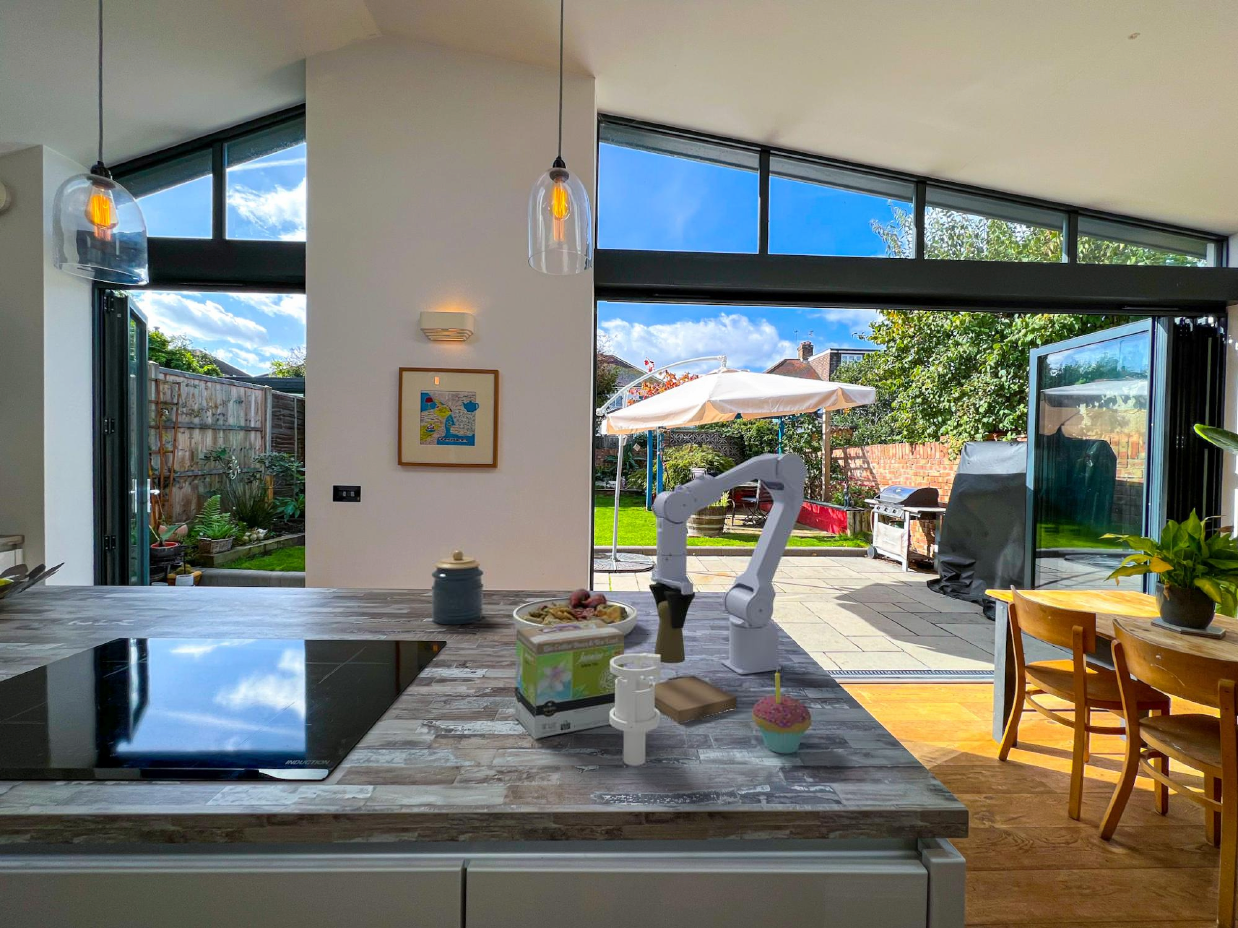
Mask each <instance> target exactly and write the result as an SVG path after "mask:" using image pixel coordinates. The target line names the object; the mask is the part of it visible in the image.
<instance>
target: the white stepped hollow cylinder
mask: <svg viewBox="0 0 1238 928" xmlns="http://www.w3.org/2000/svg"><path fill="white" fill-rule="evenodd" d="M628 663H629V664H630V663H633V664H634V668H626V667H623V668H622V667H619V666H617V665H620V664H628ZM661 663H662V662H661V655H659V654H654V653H648V652H643V653H640V654H639V653H628V654H624V655H620V656H616V657H614V658H612V659H611V660H610V672H611V673H613V674H614V675H617V676H620V677H618V678H617V679H616V680H615V707H614V708H612V709H611V710H610V717H609V722H610V724H611V725H610V726H611V727H613V728H614V729H617V730H620V731H623V762H624V764H625V765H628V766H634V767H637V766H642V765H643V764H645V762H646V732H648V731H652V730H654V729H656V728H657V727H659V726H660V724H661V712H659V711H658V710H657V709H656V708H655V684H656V683H661ZM643 664H646V665H650V666H651V667H648V668H646V667H645V668H643ZM650 682H651V684H652V687H651V688H650V689H649V685H650Z"/></svg>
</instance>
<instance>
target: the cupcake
mask: <svg viewBox="0 0 1238 928" xmlns="http://www.w3.org/2000/svg"><path fill="white" fill-rule="evenodd" d="M775 671H776V673H775V674H774V678H775V679H774V681H775V684H774V685H775V694H774V695H770V696H766V697H763V698H760V700H758V701H757V702H756V703H755V704H753V707H752V712H751V713H752V719H753V722H754V724H755V725H756V727H758V728H759V730H760V733H761V736H762V739H763V742H764V745H765V748H766V749H768V750H769V751H771V752H775V753H779V754H794V753H796V752H797V751H798V749H799V747H800V744H801V741H802V738H803V735H804V734H805V733H806V731H808V729H809V728H810V726H812V714H811V713H810V711H809V709H808V707H807V706H806V705H805V704H803V703H801V702H800V701H799V700H797V699H795V698H793V697H791V696H789V695H788V696H787V695H785V694H782V693H781V679H780V678H781V676H780V675H781V673H780V672H779V670H778V669H776V670H775Z"/></svg>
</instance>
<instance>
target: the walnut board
mask: <svg viewBox="0 0 1238 928" xmlns="http://www.w3.org/2000/svg"><path fill="white" fill-rule="evenodd" d="M652 684H653V683H651V684H649V689H650V688H651V687H652ZM654 684H655V708H656V709H657V710H658V711H659V712H660V714H662V713H663V714H662V715H664V716H665V715H666V717H667V716H668V717H667V718H669V717H670V718H671V720H672V719H673V720H674V721H673V720H672V721H673V722H675V723H676V722H677V723H676V724H678V723H679V724H682V723H681V722H683V723H686V722H685V721H687V722H689V721H688V720H691V721H693V720H692V719H695V720H698V719H697V718H699V719H701V718H700V717H703V718H705V717H704V716H707V715H711V716H713V715H712V714H715V715H717V714H716V713H719V712H723V713H725V712H724V711H726V710H730V709H735V708H737V706H738V705H737V696H735V695H733V694H732V693H729V692H727V691H726V690H725V691H724V689H721V688H720V687H717V686H716V685H713V684H711V683H710V682H707V681H705V680H703V679H701V678H699V677H697V676H696V675H690V676H685V677H681V678H680V677H679V678H675V679H672V680H671V679H670V680H666V681H660V682H655V683H654ZM735 710H736V709H735ZM719 714H720V713H719ZM707 717H708V716H707ZM670 718H669V719H670Z"/></svg>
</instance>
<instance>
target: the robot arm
mask: <svg viewBox="0 0 1238 928" xmlns="http://www.w3.org/2000/svg"><path fill="white" fill-rule="evenodd" d="M808 474H809V471H808V469H807V467H806V464H805V462H804V460H803V458H802V457H801V456H800V455H799V454H797V453H794V452H788V453H770V452H765V453H761V454H760V455H757V456H752V457H751V458H749V459H748V460H746V461H744V462H743V463H740V464H738V465H736V466H734V467H732V468H730V469H728V470H726V471H725V472H723V473H721V474H719V475H717V476H715V477H714V476H712V475H710V474H705V475H704V474H703V473H702V474H701V473H699V474H697V475H695V476H694V480H691V481H690V482H686V483H685V484H683V485H682V484H676V485H675V486H674V489H673V491H669V490H666V491H665V490H664V491H662V492H660V493H658V494H657V496H656V497H655V498H654V500H653V501H654V502H653V504H652V505H651V510H652V513H653V515H654V516H655V518H656V569H655V570H654V569H653V570H652V571H651V577H650V580H651V581H652V582H654V583H650V584H649V585H648V587H649V590H650V591H651V593H652V597H653V599H654V602H655V607H656V609H657V608H658V605H659V603H660V602H662V601H667V602H668V605H669V610H670V620H671V626H672V628H673V629H678V628H682V629H684V625H685V622H686V619H687V614H688V611H689V608H690V606H691V604H692V602H693V600H694V599H695V597H696V592H695V591H694V583H693V582H691V581H690V579H689V578H688V576H687V563H688V562H687V543H688V542H687V541H688V540H687V534H688V533H687V530H688V529H687V528H688V527H687V526H688V525H687V523H688V522H687V521H688V520H689V519H690V518H691V516H692V515H693V514H694V513H696V512H698V511H700V510H702V509H704V508H707V507H709V506H711V505H713V504H715V503H717V502H719V501H720V499H721V497H722V494H723V493H724V492H727V491H729V490H731V489H734V488H736V487H739V486H741V485H744V484H747V483H749V482H752V481H754V480H759V482H760V483H761V484H762V485H763V487H764V488H765V489H766V490H767V491H768V493H770V496H771V498H772V500H773V503H772V507H771V508H770V511H769V514H768V516H767V518H766V520H765V521H766V522H765V524H764V526H763V529H762V531H761V533H760V536H759V539H758V540H757V543H756V545H755V548H754V550H753V553H752V555H751V558H750V561H749V562H748V565H747V568H746V570H745V571H744V572H743V573H742V574H739V576H737V577H736V578H735V579H734V582H733V584H732V585H731V587H729V588H728V589H727V591H726V592H725V594H724V596H723V603H722V604H723V607H724V610H725V611H726V613H727V614H728V620H729V624H728V625H729V636H728V637H729V639H728V645H729V647H728V649H729V650H728V652H729V653H728V656H729V657H728V659H727V658H726V659H725V658H724V659H720V663H721V664H722V665H725V666H726V667H727V668H729V669H731V671H734V672H736V673H737V674H738V675H746V674H747V675H748V674H755V673H756V674H757V673H763V672H770V671H776V669H778V671H779V670H781V668H782V666H780V663H779V661H780V660H779V658H780V656H779V655H780V654H779V651H780V649H779V648H780V636H779V635H780V634H779V631H778V629H777V627H776V625H775V624H774V623H773V622H772V621H770V620H771V619H772V616H773V614H774V601H775V598H776V597H777V596H776V591H775V589H774V585H773V583H772V582H773V580H774V577H775V574H776V572H777V569H778V567H779V564H780V562H781V559H782V556H783V555H784V553H785V549H786V547H787V544H788V542H789V540H790V536H791V534H792V532H793V529H794V527H795V526H796V522H797V519H798V517H799V515H800V512H801V510H802V507H803V504H804V489H805V488H804V487H805V482H806V480H807V477H808ZM658 619H659V620H660V617H659V616H658Z"/></svg>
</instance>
